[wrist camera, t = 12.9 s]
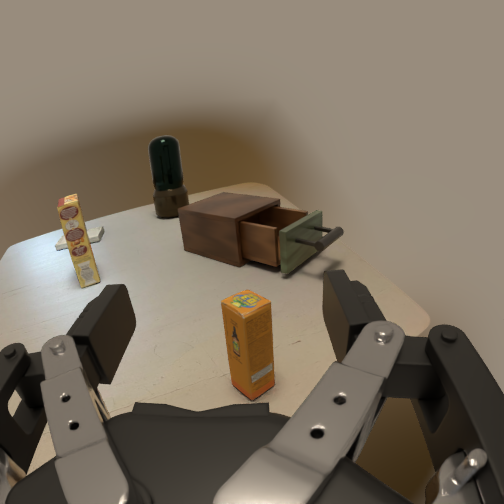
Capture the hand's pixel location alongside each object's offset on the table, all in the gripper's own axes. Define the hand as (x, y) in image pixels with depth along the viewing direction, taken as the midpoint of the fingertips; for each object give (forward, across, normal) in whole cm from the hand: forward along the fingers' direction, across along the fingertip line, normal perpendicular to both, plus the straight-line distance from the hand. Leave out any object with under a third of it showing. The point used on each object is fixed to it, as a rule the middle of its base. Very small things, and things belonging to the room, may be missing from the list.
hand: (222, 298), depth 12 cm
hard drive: (+59, +44, +18) cm, 76 cm away
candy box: (+38, +31, +18) cm, 52 cm away
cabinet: (+47, +4, +17) cm, 50 cm away
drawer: (+39, -6, +16) cm, 43 cm away
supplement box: (+11, 0, +18) cm, 21 cm away
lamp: (+73, +22, +17) cm, 78 cm away
